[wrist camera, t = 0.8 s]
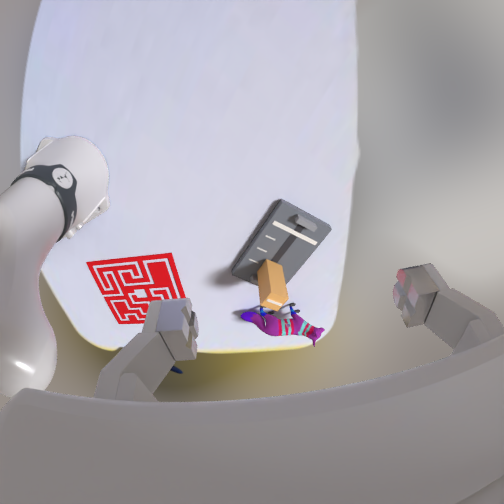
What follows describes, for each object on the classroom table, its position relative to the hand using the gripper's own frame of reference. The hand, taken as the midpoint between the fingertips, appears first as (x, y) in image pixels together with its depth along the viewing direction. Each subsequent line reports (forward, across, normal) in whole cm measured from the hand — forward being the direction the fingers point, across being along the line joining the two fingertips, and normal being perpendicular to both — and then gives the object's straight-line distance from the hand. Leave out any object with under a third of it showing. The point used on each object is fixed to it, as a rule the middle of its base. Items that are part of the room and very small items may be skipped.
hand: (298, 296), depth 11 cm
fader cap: (+37, 0, -29) cm, 47 cm away
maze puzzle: (+39, -29, -33) cm, 59 cm away
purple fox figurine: (+39, +1, -43) cm, 58 cm away
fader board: (+38, +2, -26) cm, 46 cm away
